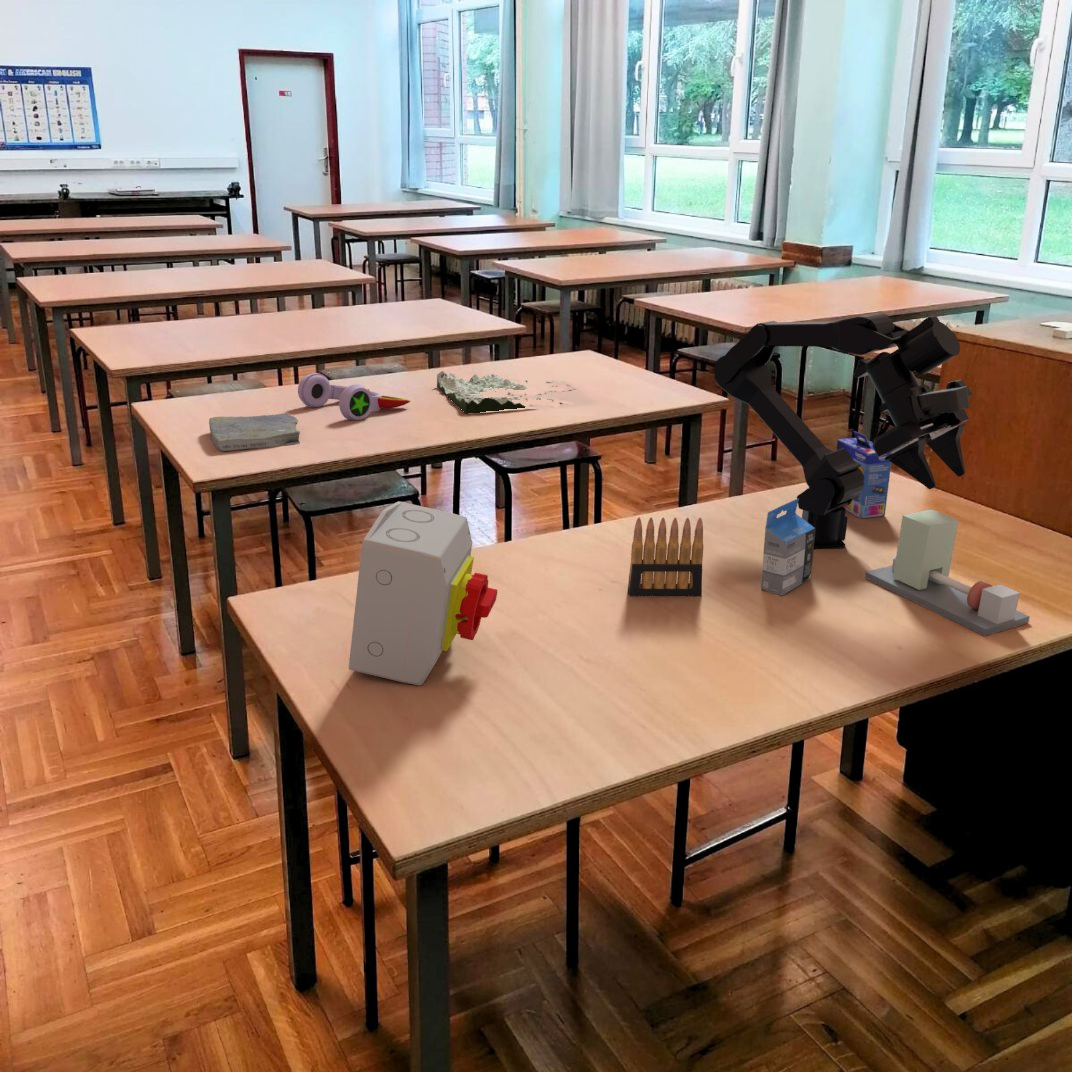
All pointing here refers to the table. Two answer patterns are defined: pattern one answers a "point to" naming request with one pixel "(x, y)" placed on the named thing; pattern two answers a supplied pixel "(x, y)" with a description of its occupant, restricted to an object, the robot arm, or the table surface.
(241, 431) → the fossil
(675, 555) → the ammunition clip
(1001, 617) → the grey rail base
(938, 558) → the pale green upright block
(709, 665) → the table surface
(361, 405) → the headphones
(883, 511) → the ink cartridge box
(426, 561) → the electrical switch box
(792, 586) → the label tape box
